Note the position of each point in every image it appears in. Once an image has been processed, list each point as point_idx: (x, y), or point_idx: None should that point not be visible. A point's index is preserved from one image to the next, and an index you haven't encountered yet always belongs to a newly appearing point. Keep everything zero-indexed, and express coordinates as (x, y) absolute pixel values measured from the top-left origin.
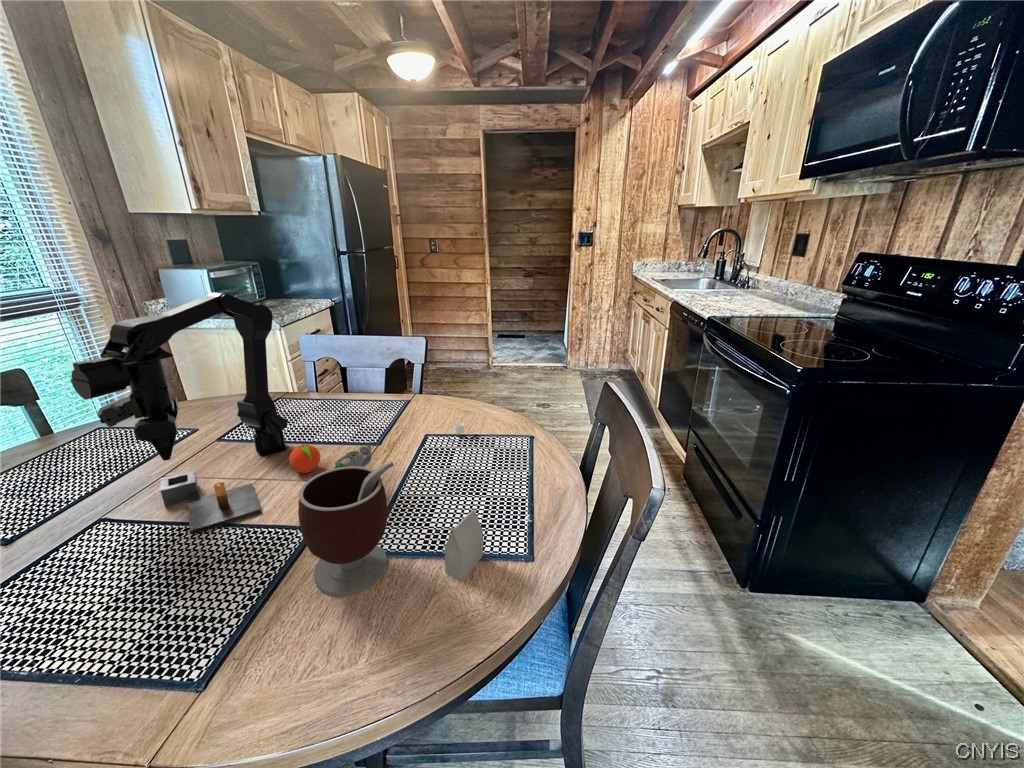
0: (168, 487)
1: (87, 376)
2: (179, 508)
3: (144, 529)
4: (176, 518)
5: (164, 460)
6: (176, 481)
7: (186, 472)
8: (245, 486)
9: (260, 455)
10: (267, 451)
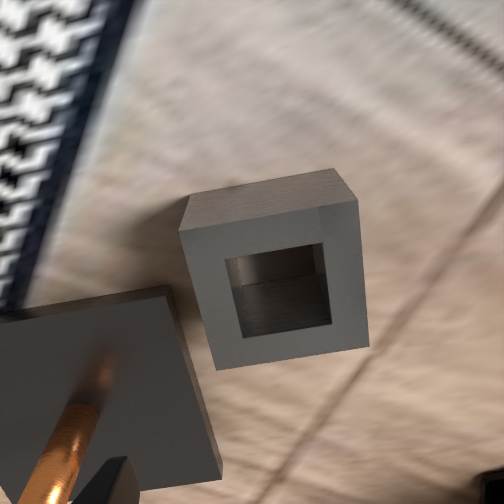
0: (204, 263)
1: None
2: (152, 254)
3: (6, 147)
4: (67, 257)
5: (110, 460)
6: (321, 260)
7: (360, 317)
8: (204, 464)
9: (486, 475)
10: (497, 500)
